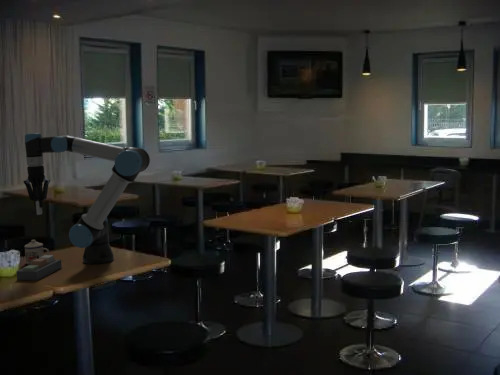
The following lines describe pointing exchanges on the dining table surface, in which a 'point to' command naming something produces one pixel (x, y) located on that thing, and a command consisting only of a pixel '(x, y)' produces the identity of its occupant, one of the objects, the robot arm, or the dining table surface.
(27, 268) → the green button
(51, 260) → the white button
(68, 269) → the dining table surface
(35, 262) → the terracotta button
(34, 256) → the teacup with lid
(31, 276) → the button panel
